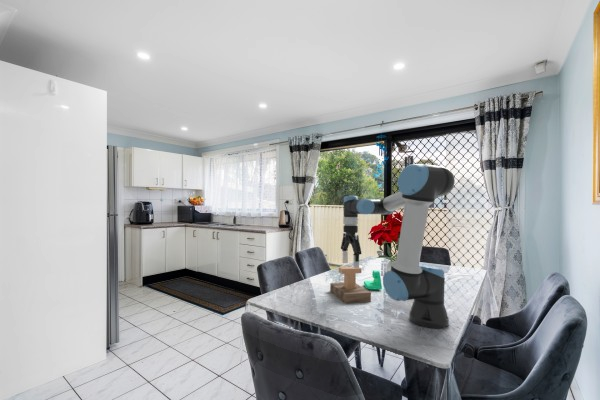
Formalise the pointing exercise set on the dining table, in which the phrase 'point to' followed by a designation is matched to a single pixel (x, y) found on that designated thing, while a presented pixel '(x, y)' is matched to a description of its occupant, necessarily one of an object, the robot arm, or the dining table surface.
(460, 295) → the dining table surface
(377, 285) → the camera mount
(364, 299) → the well block
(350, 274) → the wooden t-shaped post
